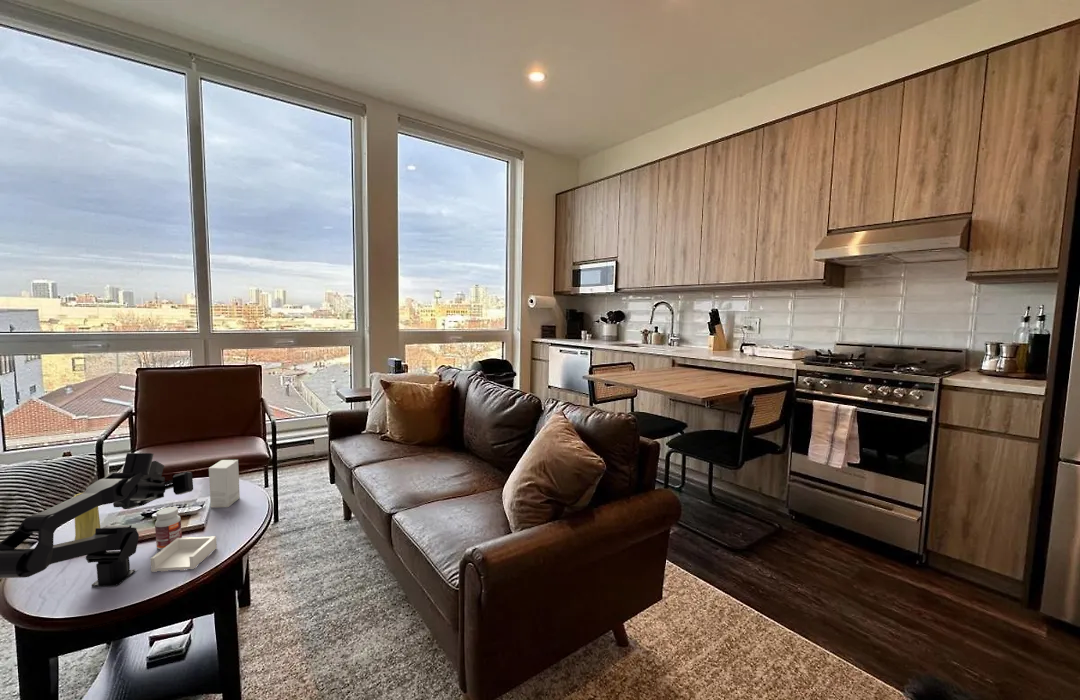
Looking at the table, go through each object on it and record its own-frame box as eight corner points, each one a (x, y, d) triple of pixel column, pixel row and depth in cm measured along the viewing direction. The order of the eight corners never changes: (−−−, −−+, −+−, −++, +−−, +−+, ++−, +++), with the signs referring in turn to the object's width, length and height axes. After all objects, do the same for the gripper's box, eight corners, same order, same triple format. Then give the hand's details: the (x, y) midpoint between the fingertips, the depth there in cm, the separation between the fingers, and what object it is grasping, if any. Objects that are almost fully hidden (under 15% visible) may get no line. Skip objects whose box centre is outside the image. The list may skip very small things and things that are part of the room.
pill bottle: (173, 549, 135) (171, 514, 134) (151, 550, 134) (148, 515, 133) (186, 539, 141) (184, 505, 140) (165, 540, 140) (163, 506, 139)
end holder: (194, 569, 126) (193, 556, 125) (151, 572, 124) (150, 558, 124) (216, 548, 136) (216, 536, 136) (177, 550, 135) (177, 537, 135)
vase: (73, 544, 137) (69, 500, 135) (76, 536, 141) (72, 493, 140) (101, 538, 141) (97, 495, 139) (102, 530, 145) (99, 489, 144)
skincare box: (223, 498, 170) (221, 459, 169) (241, 497, 171) (239, 459, 169) (209, 508, 162) (207, 467, 160) (228, 507, 163) (226, 467, 161)
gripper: (172, 453, 132) (205, 457, 147) (103, 472, 129) (143, 474, 144) (174, 490, 129) (208, 491, 144) (103, 510, 126) (145, 509, 141)
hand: (176, 490), depth 143 cm, fingers open, 9 cm apart
